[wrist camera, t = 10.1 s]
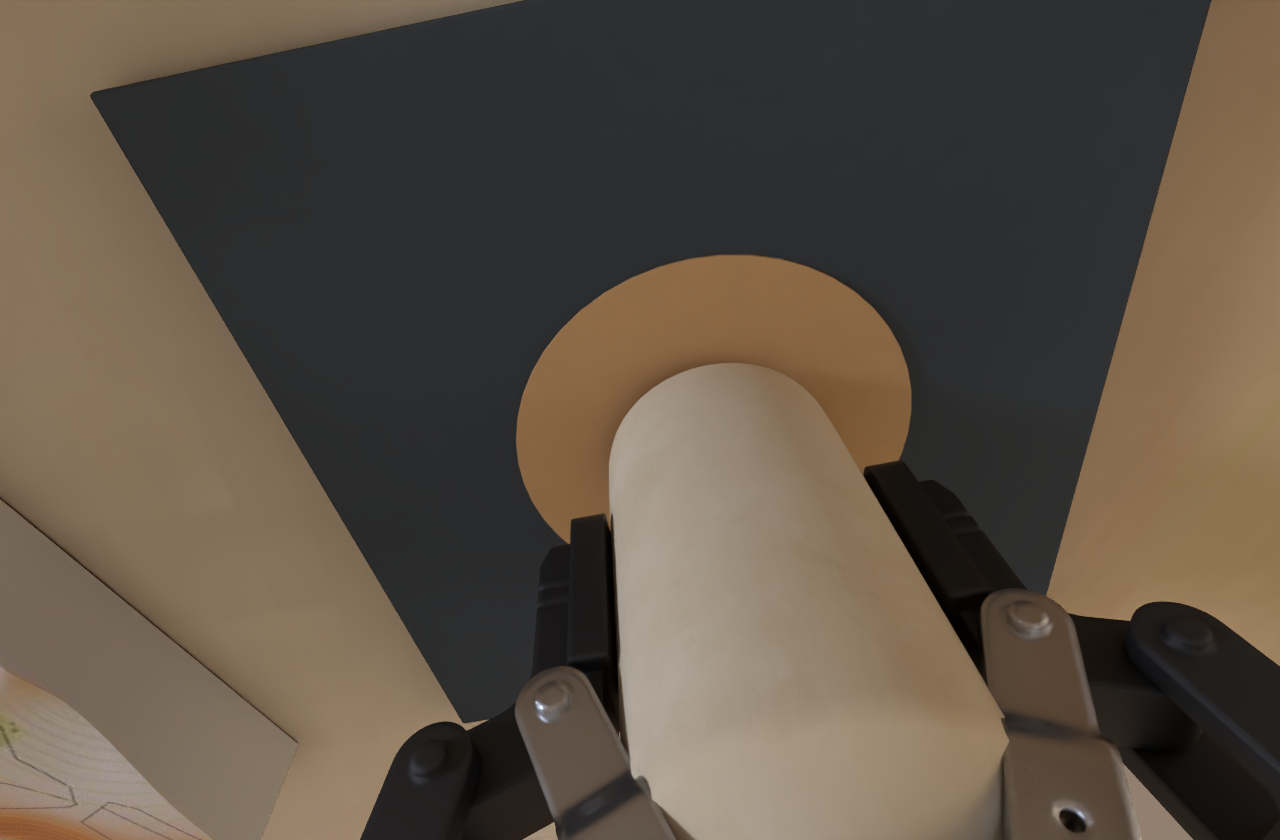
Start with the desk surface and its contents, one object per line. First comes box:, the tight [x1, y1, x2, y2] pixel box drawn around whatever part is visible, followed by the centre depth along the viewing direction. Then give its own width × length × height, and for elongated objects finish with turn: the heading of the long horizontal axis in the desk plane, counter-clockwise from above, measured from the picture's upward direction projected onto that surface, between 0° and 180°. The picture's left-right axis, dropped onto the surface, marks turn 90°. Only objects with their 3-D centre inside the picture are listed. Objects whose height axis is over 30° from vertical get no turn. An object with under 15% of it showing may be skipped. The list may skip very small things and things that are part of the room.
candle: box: [609, 363, 1009, 840], centre depth 11 cm, size 6×6×10 cm
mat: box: [90, 0, 1211, 723], centre depth 16 cm, size 20×20×1 cm
